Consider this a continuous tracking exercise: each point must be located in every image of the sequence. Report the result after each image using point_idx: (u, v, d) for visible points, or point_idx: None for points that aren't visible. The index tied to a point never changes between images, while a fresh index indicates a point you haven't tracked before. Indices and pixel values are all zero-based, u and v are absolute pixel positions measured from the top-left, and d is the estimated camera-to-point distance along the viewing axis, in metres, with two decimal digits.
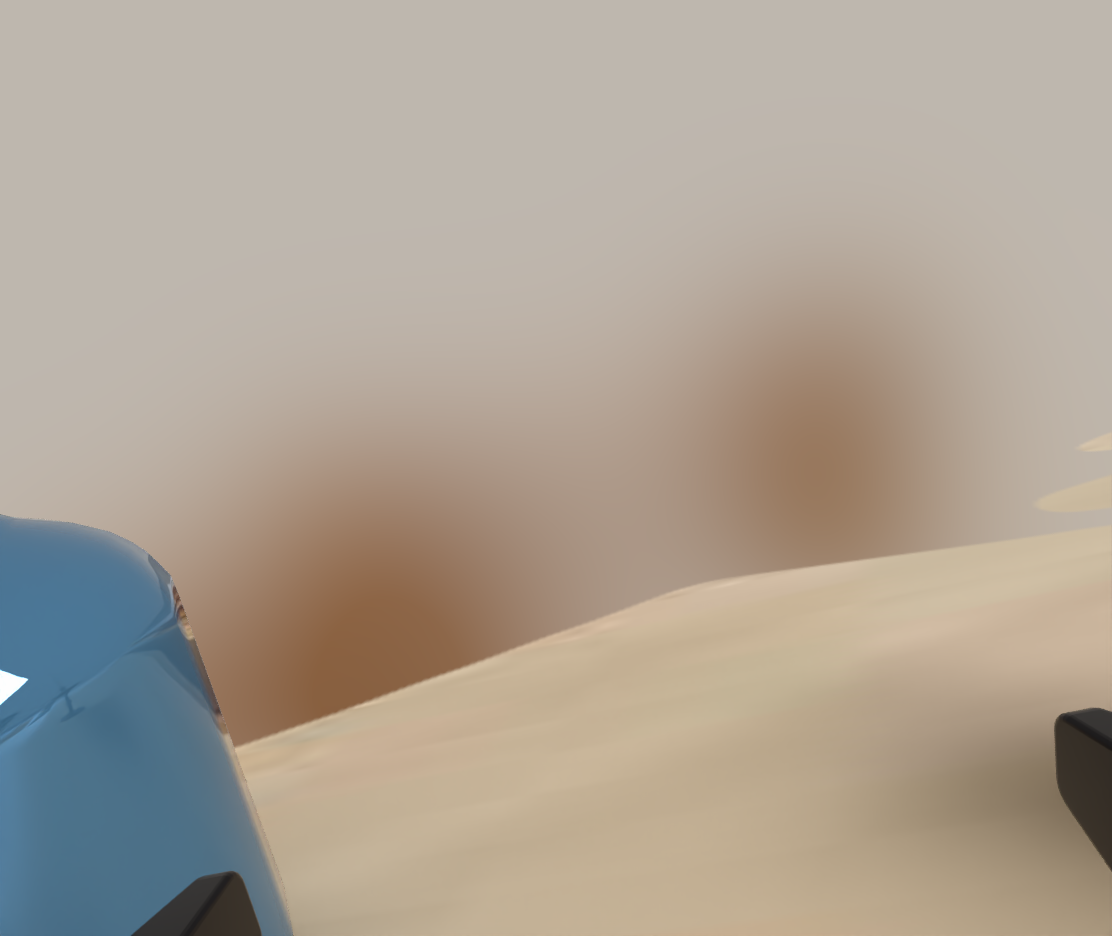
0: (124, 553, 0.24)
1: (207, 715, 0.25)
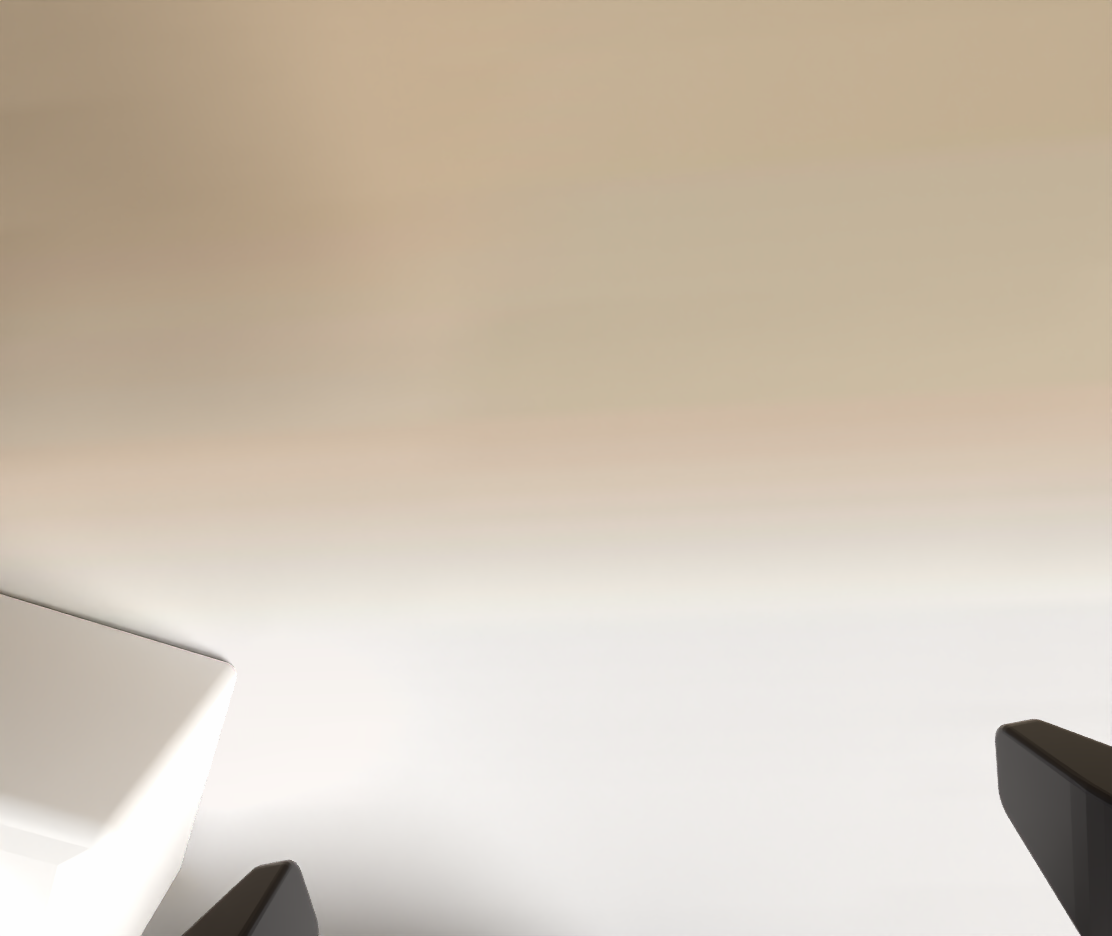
0: None
1: None
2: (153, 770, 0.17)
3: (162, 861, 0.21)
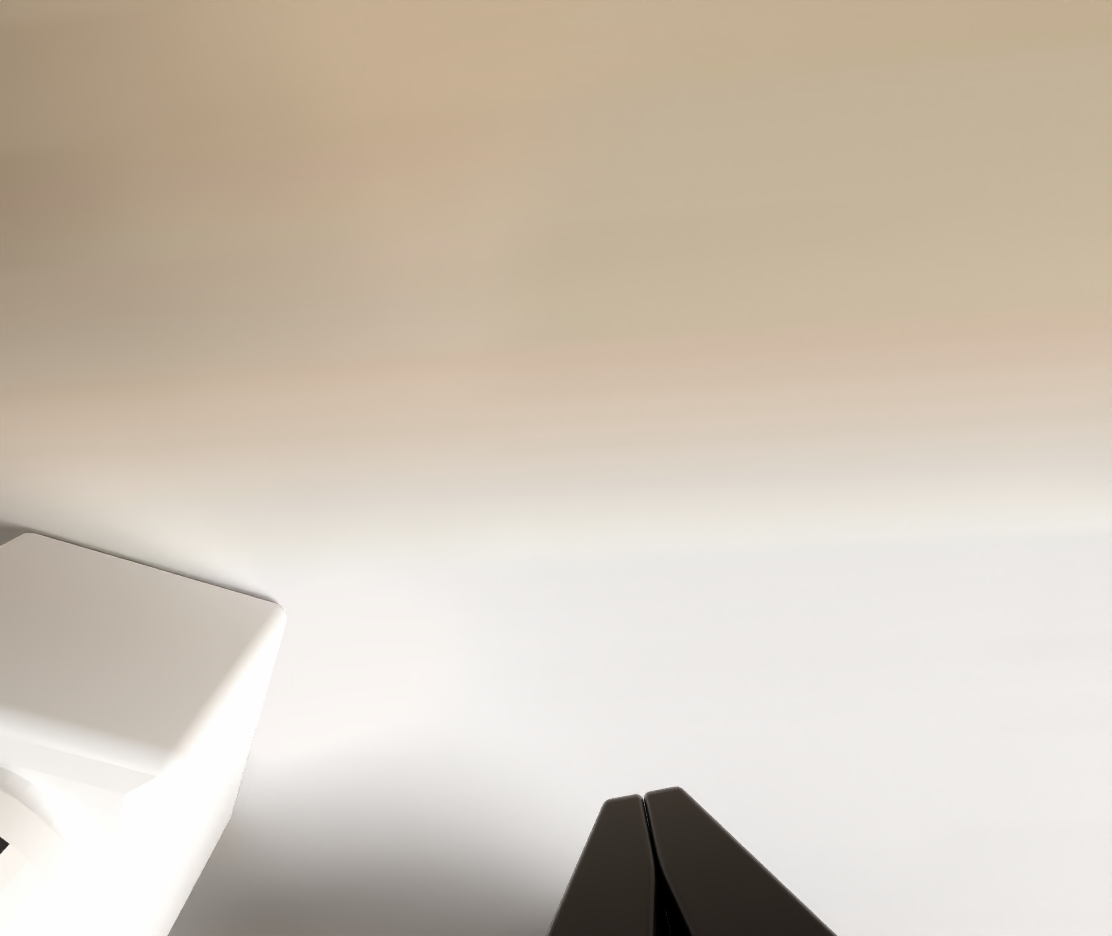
0: None
1: None
2: (215, 702, 0.17)
3: (218, 804, 0.20)
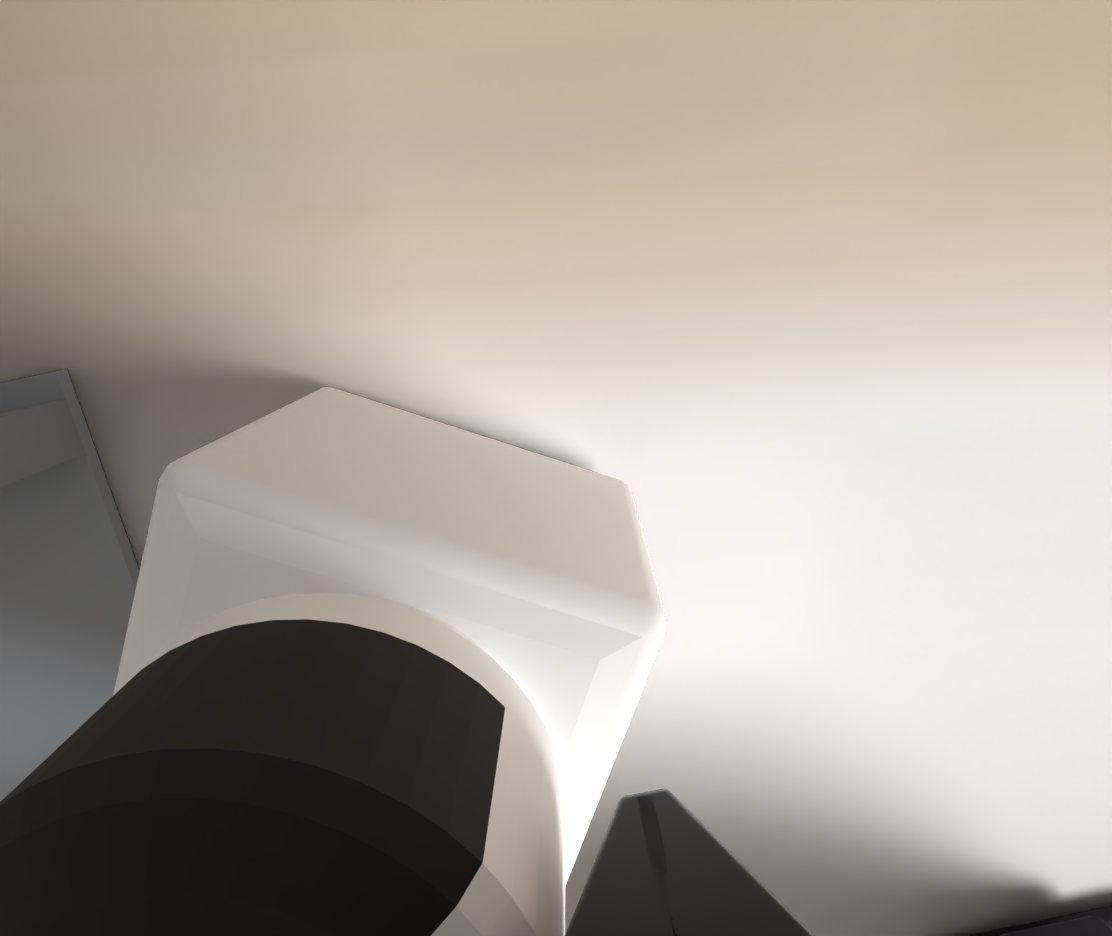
0: None
1: None
2: (648, 562, 0.13)
3: None
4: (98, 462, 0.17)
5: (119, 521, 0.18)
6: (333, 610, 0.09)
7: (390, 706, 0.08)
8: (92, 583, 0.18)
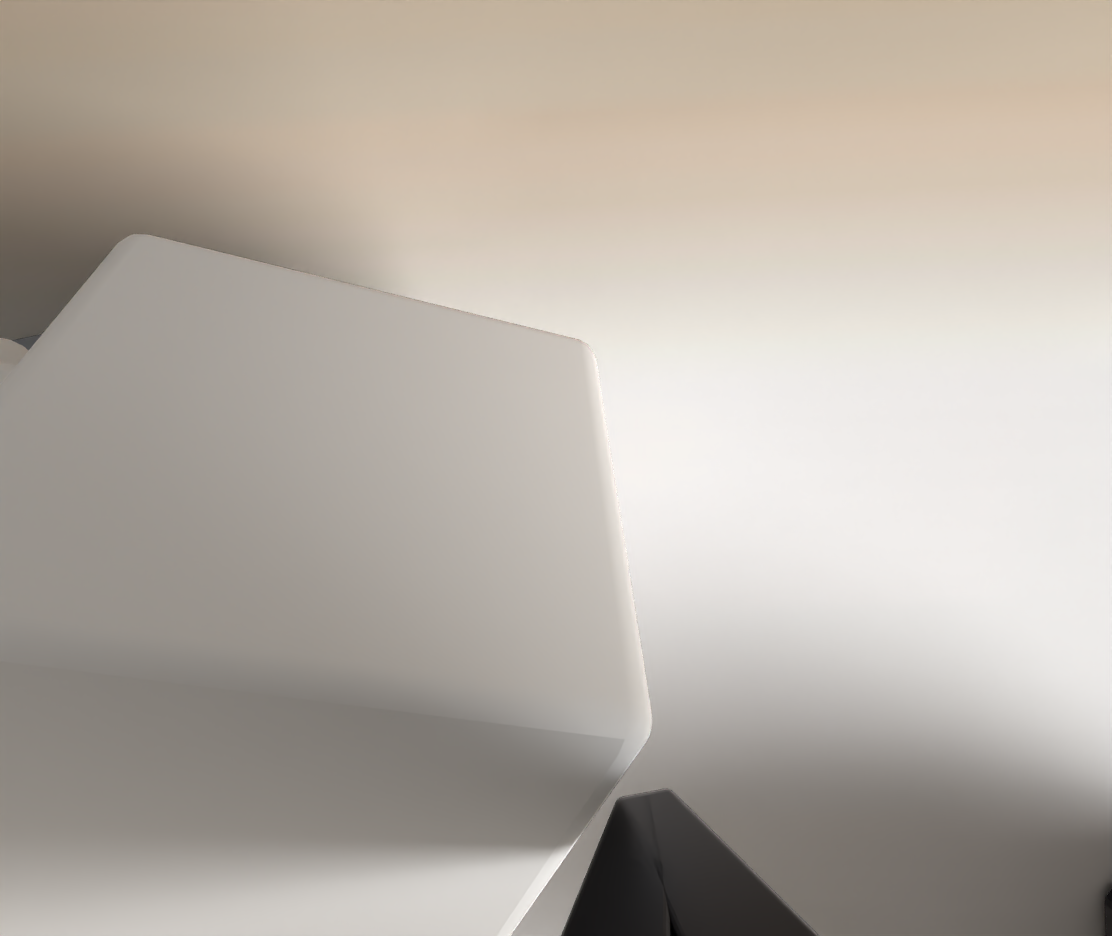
0: None
1: None
2: (94, 647, 0.07)
3: (315, 904, 0.10)
4: None
5: None
6: None
7: None
8: None
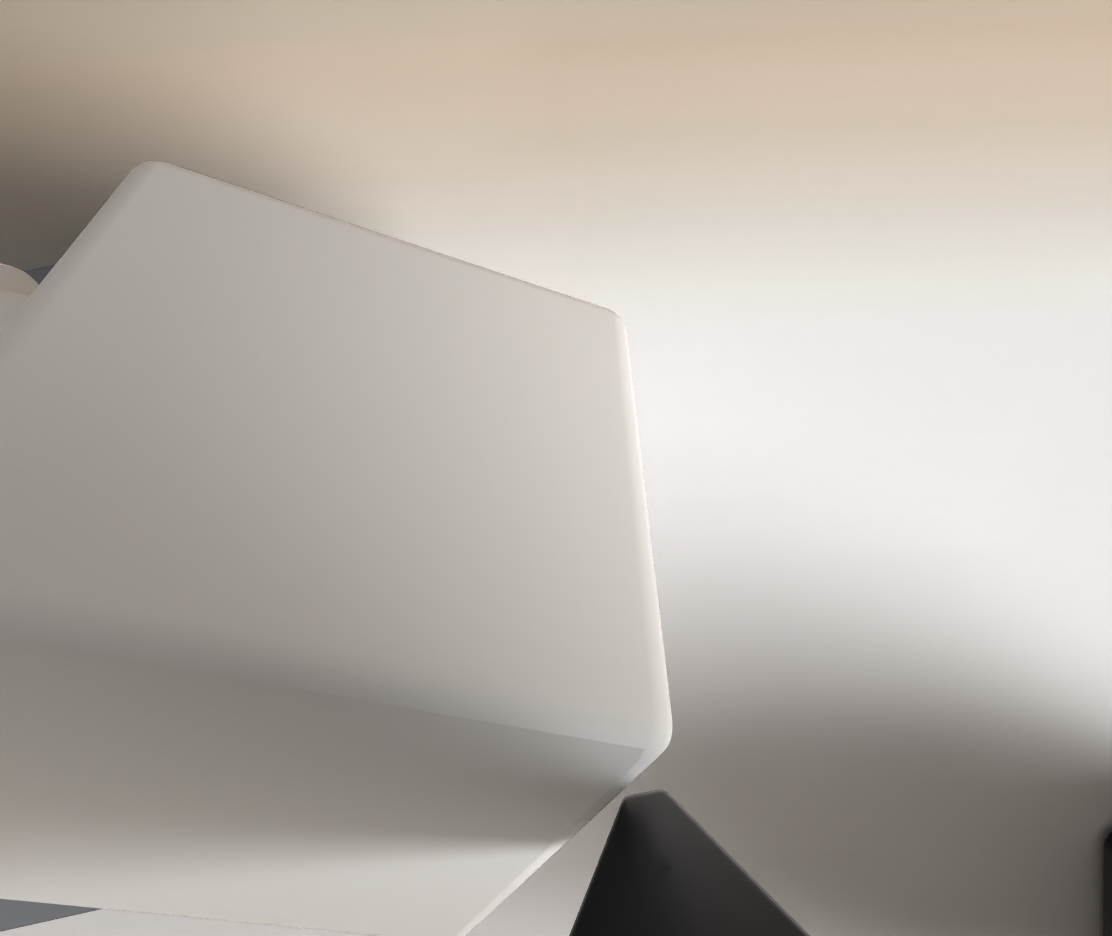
0: None
1: None
2: (110, 628, 0.06)
3: (309, 871, 0.10)
4: None
5: None
6: None
7: None
8: None
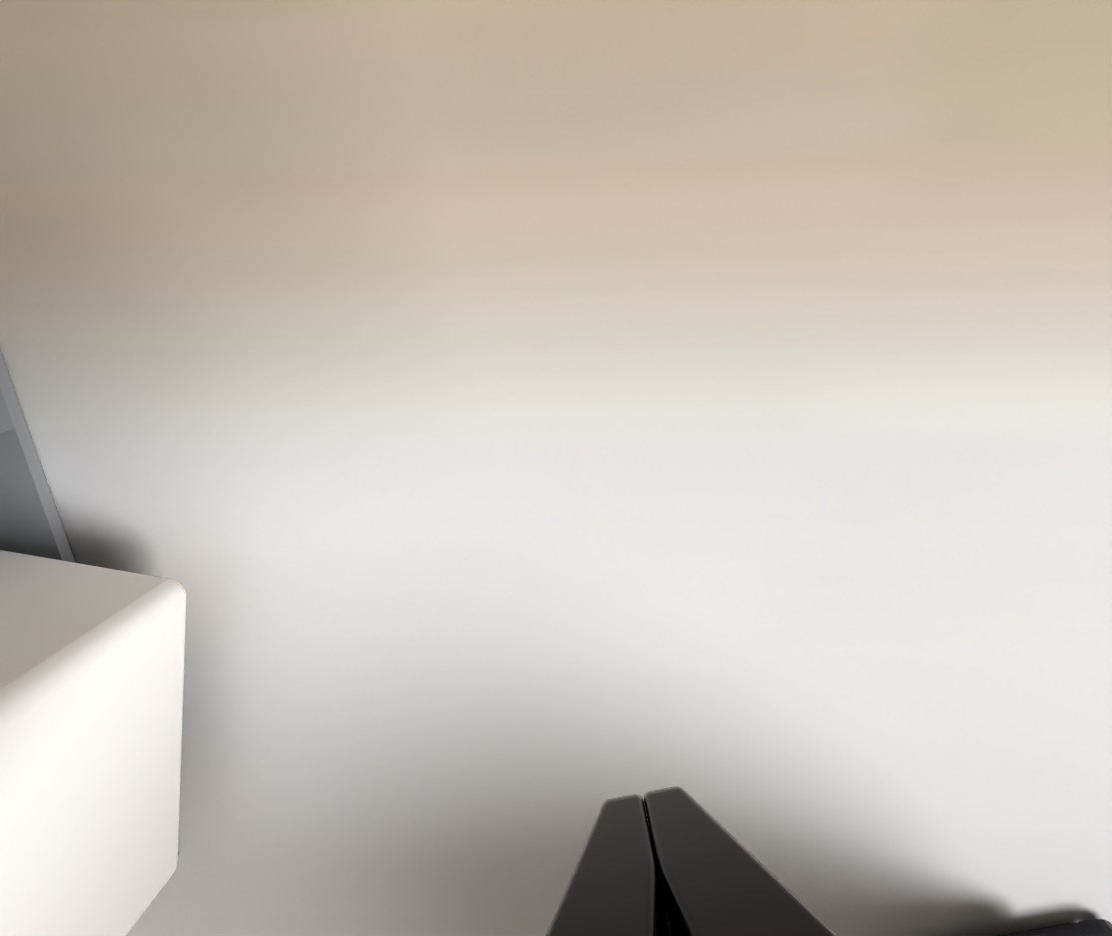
0: None
1: None
2: None
3: None
4: (29, 438, 0.17)
5: (51, 500, 0.17)
6: None
7: None
8: None
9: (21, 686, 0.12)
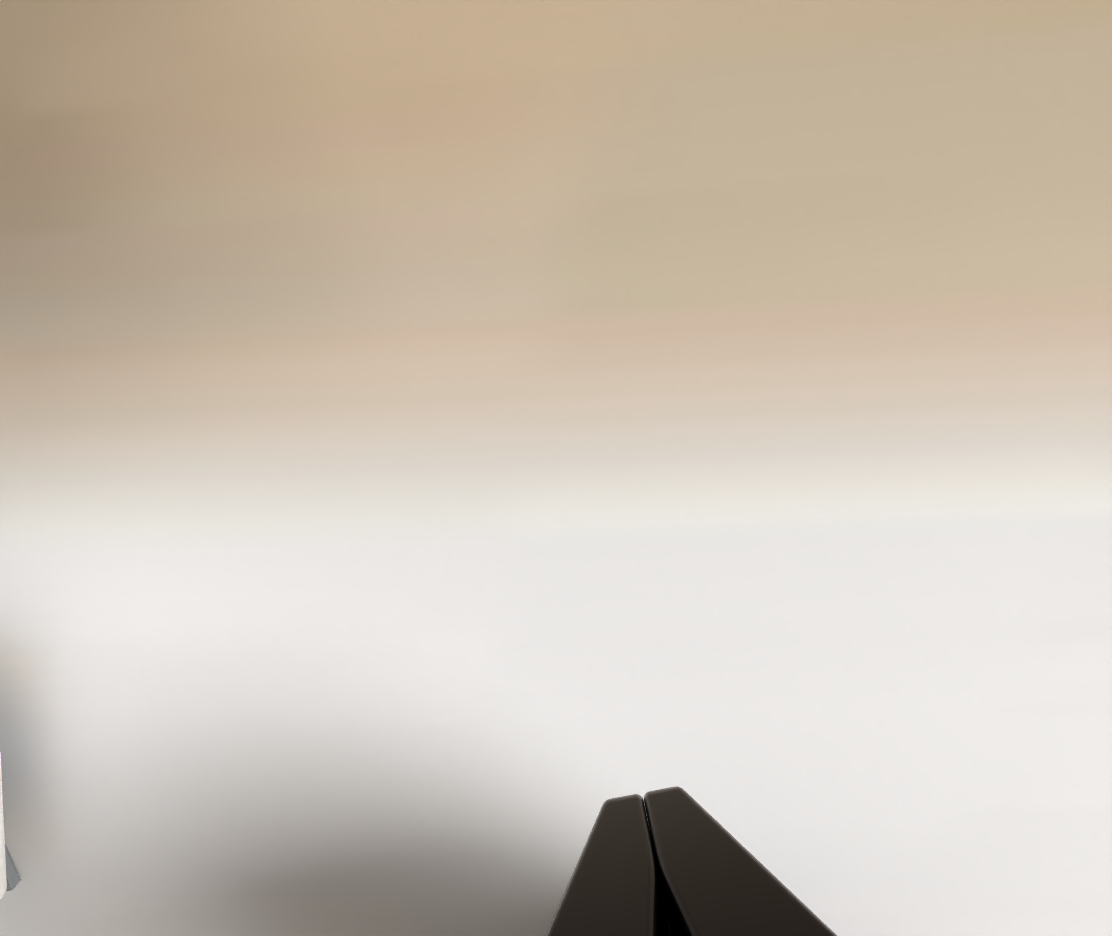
0: None
1: None
2: None
3: None
4: None
5: None
6: None
7: None
8: None
9: None
